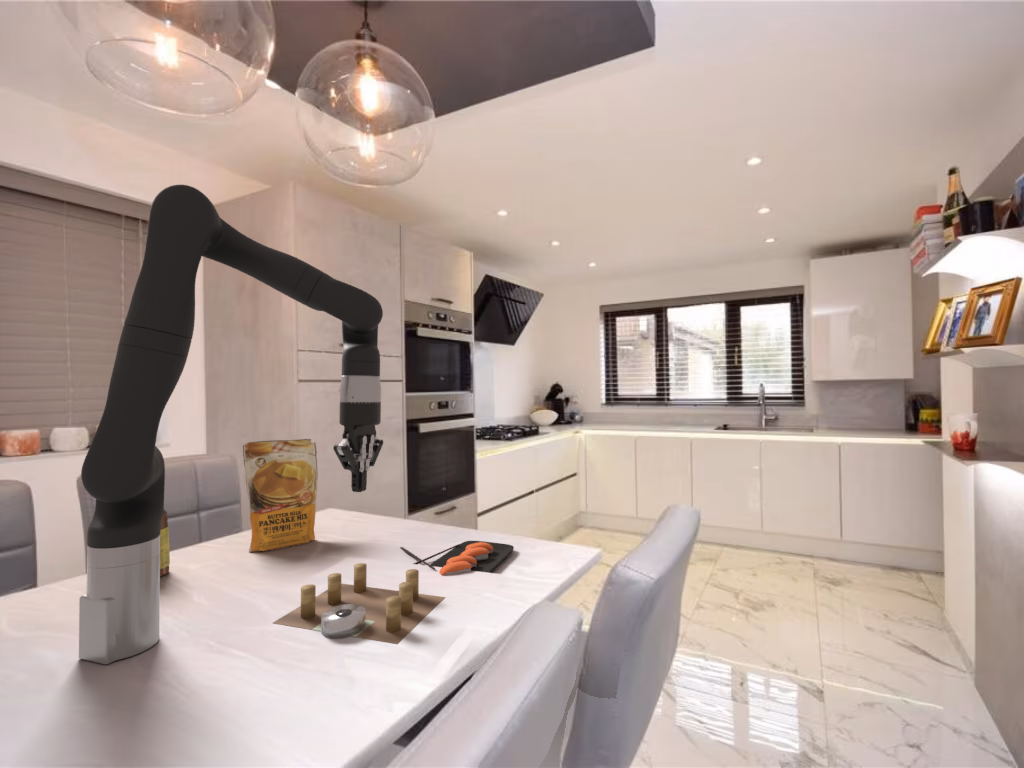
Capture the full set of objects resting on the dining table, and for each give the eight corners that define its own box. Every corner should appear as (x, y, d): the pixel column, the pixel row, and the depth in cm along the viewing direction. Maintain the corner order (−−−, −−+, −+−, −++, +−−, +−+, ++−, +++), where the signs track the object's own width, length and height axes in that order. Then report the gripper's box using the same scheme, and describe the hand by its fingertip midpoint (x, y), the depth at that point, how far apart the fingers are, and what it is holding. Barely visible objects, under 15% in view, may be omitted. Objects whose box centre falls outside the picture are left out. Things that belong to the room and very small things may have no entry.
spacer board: (397, 653, 77) (397, 611, 77) (272, 631, 83) (272, 593, 84) (445, 605, 94) (445, 571, 94) (338, 590, 101) (338, 558, 101)
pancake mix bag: (239, 549, 127) (240, 441, 127) (315, 535, 139) (315, 437, 139) (244, 556, 122) (245, 443, 122) (322, 541, 134) (323, 438, 134)
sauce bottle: (164, 568, 113) (165, 482, 114) (173, 574, 109) (174, 485, 110) (129, 576, 108) (130, 486, 109) (137, 583, 104) (138, 490, 105)
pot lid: (350, 640, 77) (350, 624, 77) (312, 635, 79) (312, 619, 79) (373, 620, 84) (373, 605, 84) (338, 615, 86) (338, 601, 86)
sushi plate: (471, 597, 98) (471, 578, 98) (347, 578, 108) (347, 561, 108) (517, 552, 126) (517, 537, 126) (415, 540, 136) (415, 526, 136)
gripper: (356, 400, 86) (354, 499, 85) (396, 400, 98) (395, 486, 98) (320, 400, 88) (318, 496, 88) (364, 399, 101) (362, 483, 100)
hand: (359, 491), depth 93 cm, fingers closed
